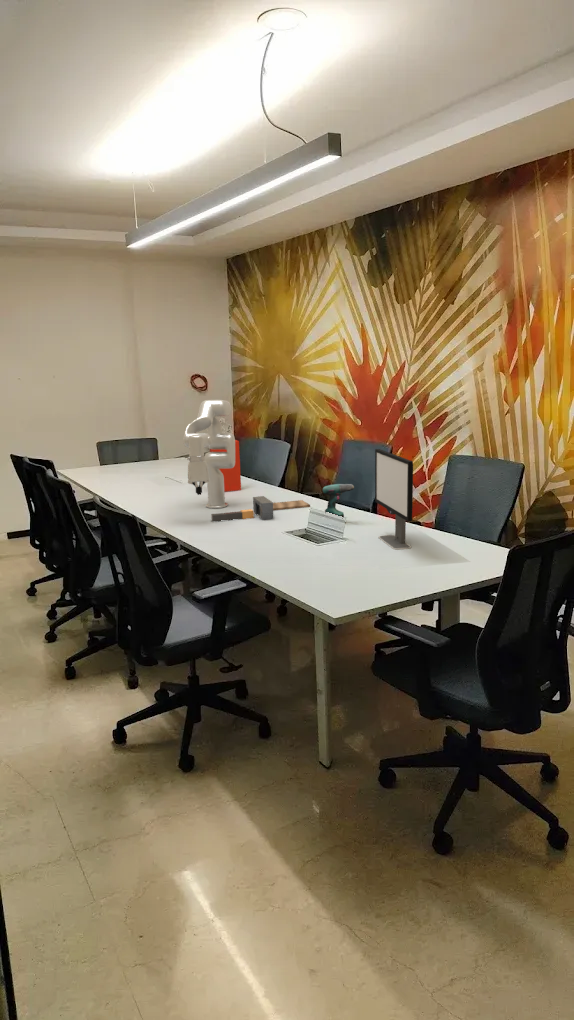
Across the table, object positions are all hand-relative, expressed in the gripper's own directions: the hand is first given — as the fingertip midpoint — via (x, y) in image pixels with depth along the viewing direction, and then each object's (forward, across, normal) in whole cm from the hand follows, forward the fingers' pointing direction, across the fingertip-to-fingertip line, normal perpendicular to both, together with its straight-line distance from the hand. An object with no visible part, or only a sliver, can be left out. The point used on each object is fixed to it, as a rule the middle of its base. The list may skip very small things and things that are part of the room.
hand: (199, 494), depth 338 cm
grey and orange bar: (+15, +17, +1) cm, 23 cm away
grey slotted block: (+15, +34, +1) cm, 37 cm away
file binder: (+14, +32, +78) cm, 86 cm away
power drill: (+15, +66, -28) cm, 73 cm away
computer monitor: (+16, +75, -74) cm, 106 cm away
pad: (+14, +52, +18) cm, 57 cm away
